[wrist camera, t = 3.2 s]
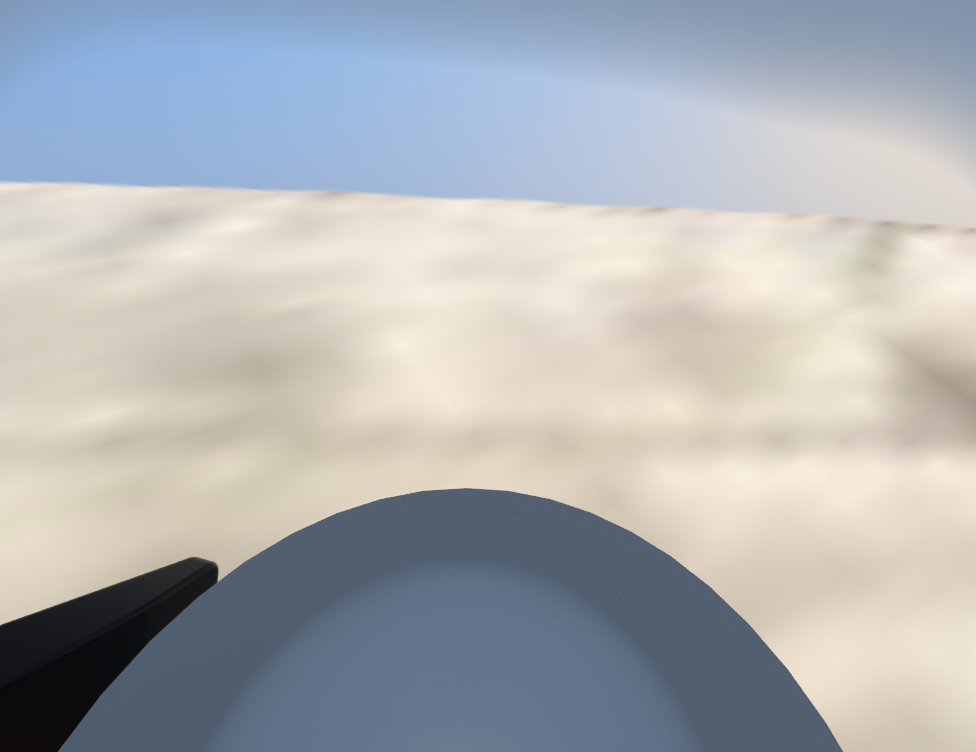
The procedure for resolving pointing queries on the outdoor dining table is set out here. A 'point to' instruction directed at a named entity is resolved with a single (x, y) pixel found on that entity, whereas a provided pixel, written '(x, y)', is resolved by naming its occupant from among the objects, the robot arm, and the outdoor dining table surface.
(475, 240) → the outdoor dining table surface
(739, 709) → the grey piece
